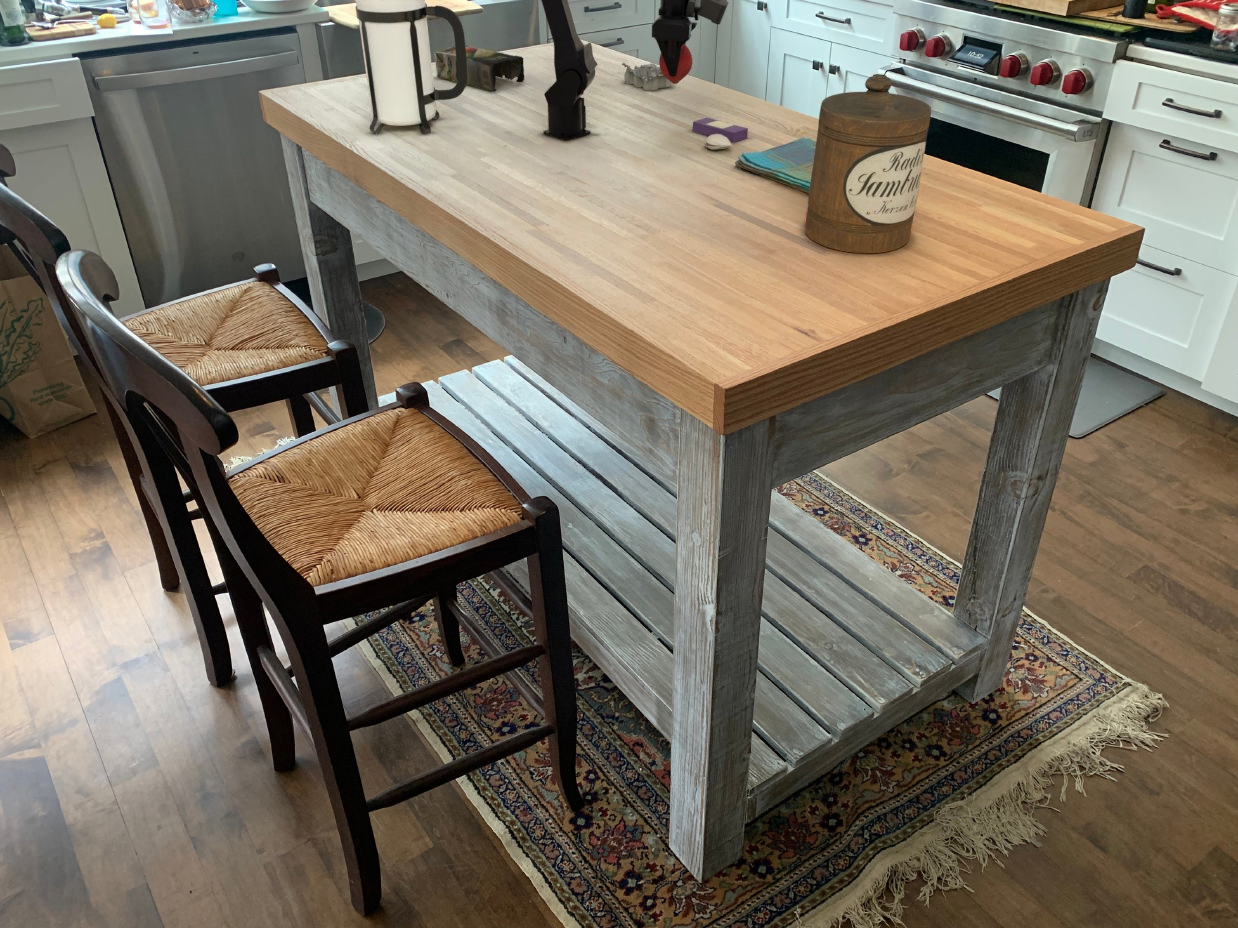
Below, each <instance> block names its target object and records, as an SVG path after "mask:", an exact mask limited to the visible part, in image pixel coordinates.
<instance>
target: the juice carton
mask: <svg viewBox="0 0 1238 928" xmlns="http://www.w3.org/2000/svg"><path fill="white" fill-rule="evenodd" d="M465 47H466V59H467V84H466V86H469V87H473V88H478V89H481V90H484V91H488V92H496V91H497V89H496V79H497V78H501V79H503V78H505V79H506V80H510V81H513V80H514V79H516V80H515V82H516V83H523V82H524V81H525V67H524V58H523V57H522V56H519V55H512V54H508V53H504V52H500V51H499V52H498V51H494V50H490V49H486V48H481V47H477V46H470V45H466V44H465ZM434 59H435V69H436V77H437V79H441V80H448V81H453V82H456V83H457V81H458V72H457V60H456V49H455V45H454V46H450V47H448V48H446V49H442V50H439V51H435V52H434Z"/></svg>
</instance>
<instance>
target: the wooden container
mask: <svg viewBox="0 0 1238 928" xmlns="http://www.w3.org/2000/svg"><path fill="white" fill-rule="evenodd" d="M864 87H865V88H866V90H865V91H848V92H840V93H836V94H832V95H829V96H827V97H825V98H824V99H823V100H822V101H821V103H820V109H819V113H818V114H819V115H818V123H817V124H818V125H817V127H818V128H817V134H816V141H815V142H816V148H815V155H814V162H813V169H812V175H811V182H810V189H809V193H808V198H807V210H806V218H805V227H804V232H805V234H806V236H807V237H808V238H809V239H810V240H811V241H813V242H815V243H816V244H819V245H821V246H823V247H826V248H829V249H832V250H835V251H840V252H846V253H854V254H879V253H881V254H882V253H886V252H891V251H895V250H898V249H900V248H902V247H904V246H905V245H906V244H907V243H908V242H909V240H910V238H911V232H912V229H913V223H914V215H915V212H916V207H917V202H918V197H919V189H920V184H921V177H922V171H923V163H924V157H925V151H926V145H927V137H928V132H929V128H930V123H931V116H932V108H931V106H930V105H929V104H928V103H927V102H925V101H923V100H921V99H917V98H914V97H912V96H907V95H904V94H898V93H891V92H890V91H889V90H890V89H891V87H892V79H891V78H890V77H888V76H887V75H886V74H883V73H881V74H880V73H875V74H874V73H873V74H872V75H871V76H869V77H868V78H867V79H866V80H865V83H864Z"/></svg>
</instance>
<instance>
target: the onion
mask: <svg viewBox="0 0 1238 928" xmlns="http://www.w3.org/2000/svg"><path fill="white" fill-rule="evenodd" d="M658 63H659V67H660V70H661V72H662V74H663V75H664V76H665V77H666V78H667V79H668V80H669V81H671V84H673V85H675V84H676V85H677V84H679V83H680V82H681V81H682V80H683V79H684V78H686V77H687V76H688V74H689V73H690V71H691V70H692V67H693V54H692V53H691V51H690V48H689V47H688V46H687V45H685V44H683V45H682V50H681V55H680V60H679V65H678V70H677V74H676V76H670V75H669V72H668V70H667V67H666V64H665V62H664V59H663V56H662V54H661V53H660V54H659V59H658Z"/></svg>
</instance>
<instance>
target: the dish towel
mask: <svg viewBox="0 0 1238 928" xmlns="http://www.w3.org/2000/svg"><path fill="white" fill-rule="evenodd" d="M815 148H816V141H815V140H813V139H811V138H806V137H800V138H798V139H795V140H792V141H790V142H787V143H784V144H781V145H778V146H774V147H771V148H768V149H765V150H762V151H756V152H755V151H754V152H741V155H738V156H737V158H738V160H736V161H735V162H734V164H735V165H736V166H737V167H738V168H741V169H743V170H746V171H748V172H751V173H753V174H756V175H759V176H761V177H764V178H768V179H771V180H772V181H775V182H778V183H780V184H782V185H787V186H788V187H791V188H793V189H797V190H800V191H801V192H804V193H807V194H809V189H810V182H811V175H812V169H813V162H814V155H815Z"/></svg>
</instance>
